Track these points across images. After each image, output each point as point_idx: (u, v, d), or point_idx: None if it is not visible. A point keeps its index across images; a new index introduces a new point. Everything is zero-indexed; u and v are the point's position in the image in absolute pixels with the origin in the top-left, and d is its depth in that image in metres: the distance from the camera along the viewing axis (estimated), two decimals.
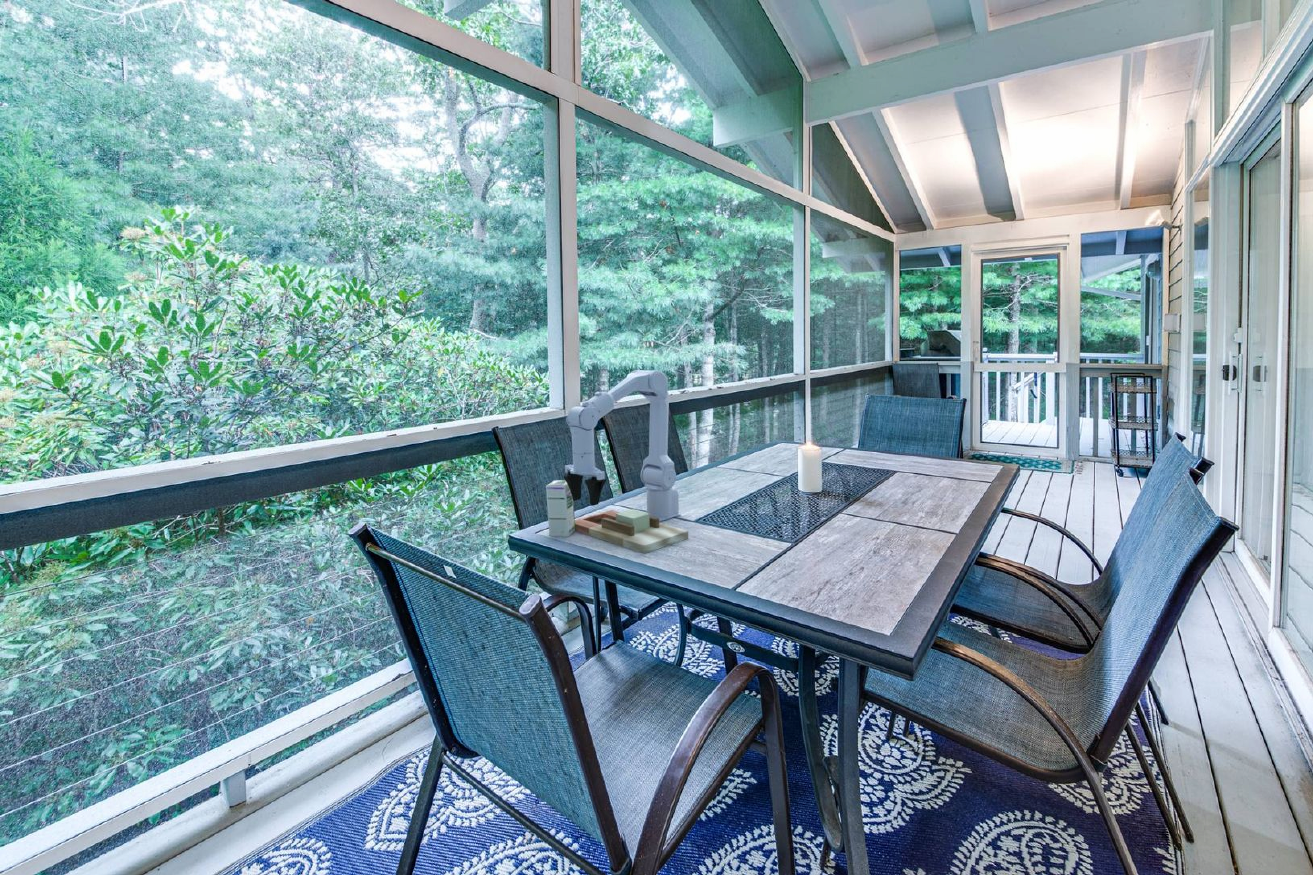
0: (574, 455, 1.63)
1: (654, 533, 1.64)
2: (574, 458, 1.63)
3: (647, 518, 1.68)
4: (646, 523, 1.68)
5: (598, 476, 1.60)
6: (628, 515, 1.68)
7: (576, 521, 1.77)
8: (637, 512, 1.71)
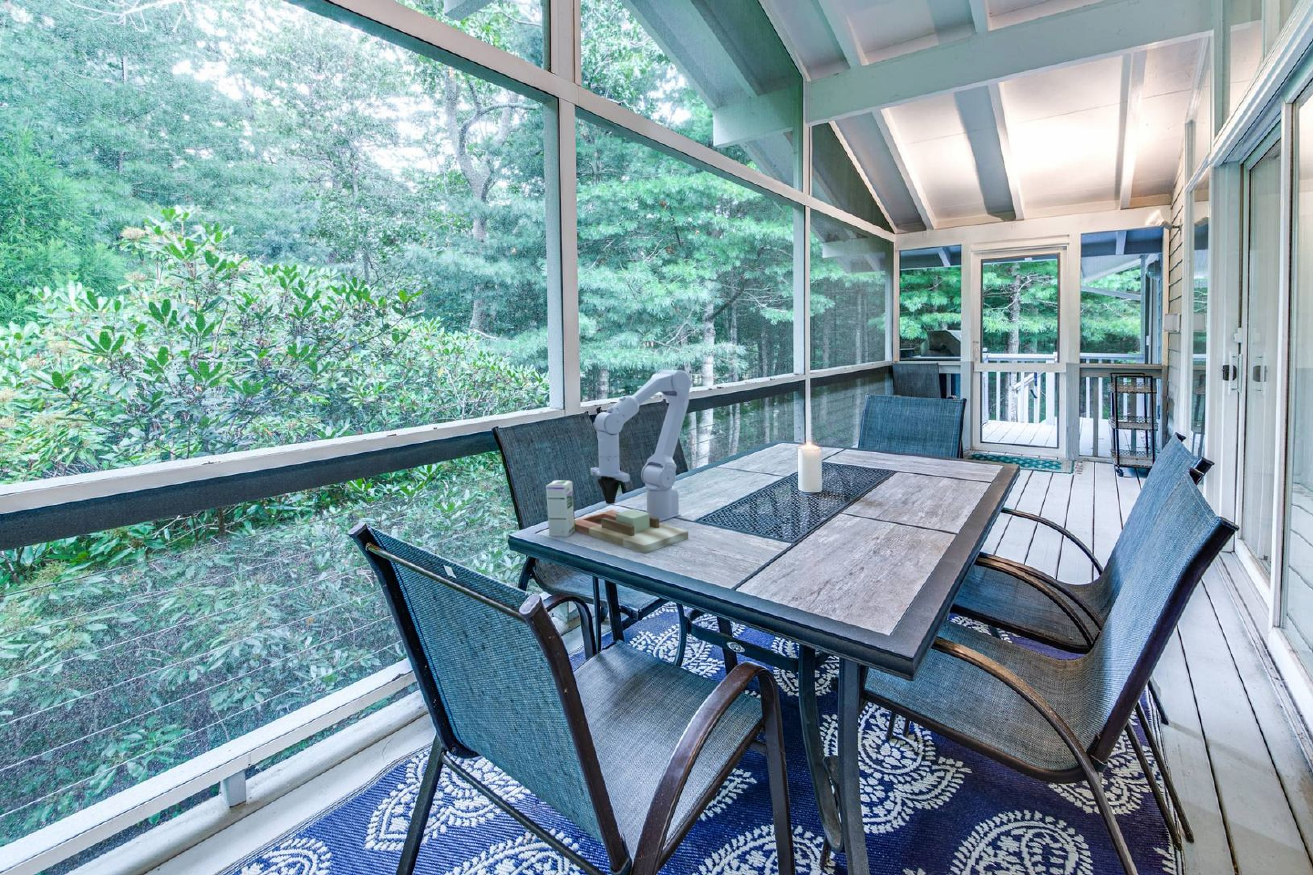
0: (600, 458, 1.71)
1: (654, 533, 1.64)
2: (601, 461, 1.71)
3: (647, 518, 1.68)
4: (646, 523, 1.68)
5: (623, 478, 1.68)
6: (628, 515, 1.68)
7: (576, 521, 1.77)
8: (637, 512, 1.71)
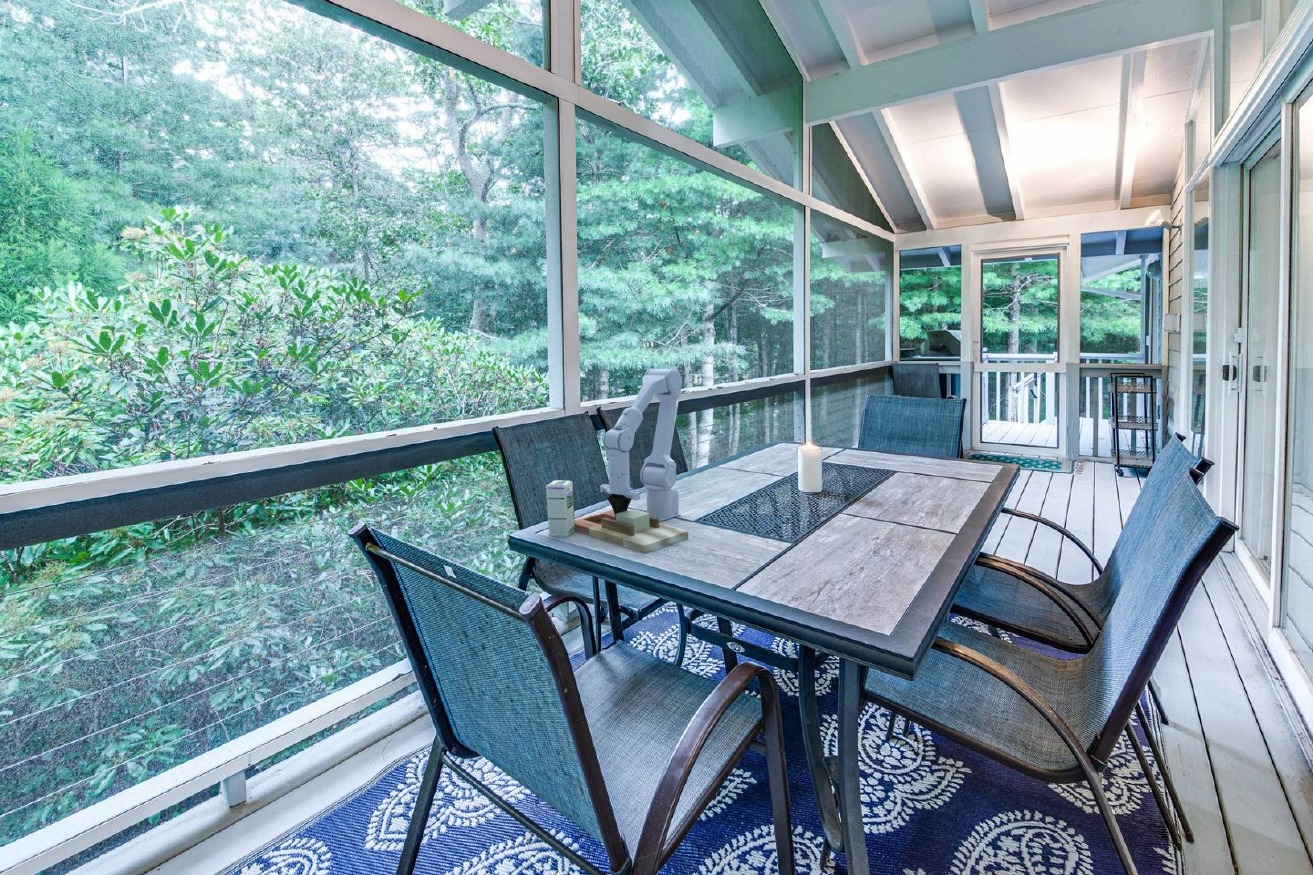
0: (610, 476, 1.69)
1: (654, 533, 1.64)
2: (611, 479, 1.69)
3: (647, 518, 1.68)
4: (646, 523, 1.68)
5: (634, 496, 1.66)
6: (628, 515, 1.68)
7: (576, 521, 1.77)
8: (637, 512, 1.71)
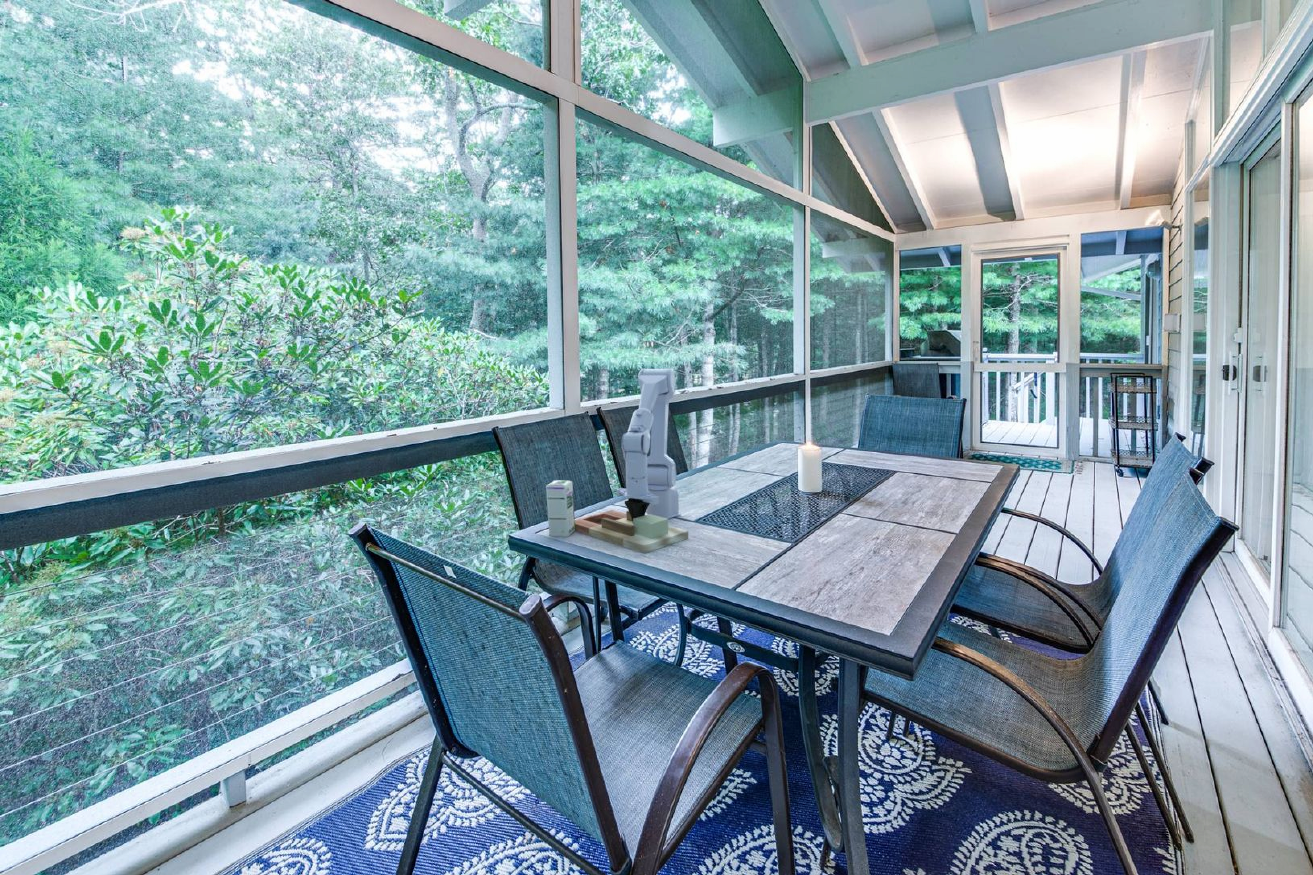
0: (628, 480, 1.64)
1: None
2: (628, 483, 1.64)
3: (666, 523, 1.63)
4: (665, 528, 1.63)
5: (652, 501, 1.61)
6: (646, 520, 1.62)
7: (576, 521, 1.77)
8: (655, 516, 1.66)
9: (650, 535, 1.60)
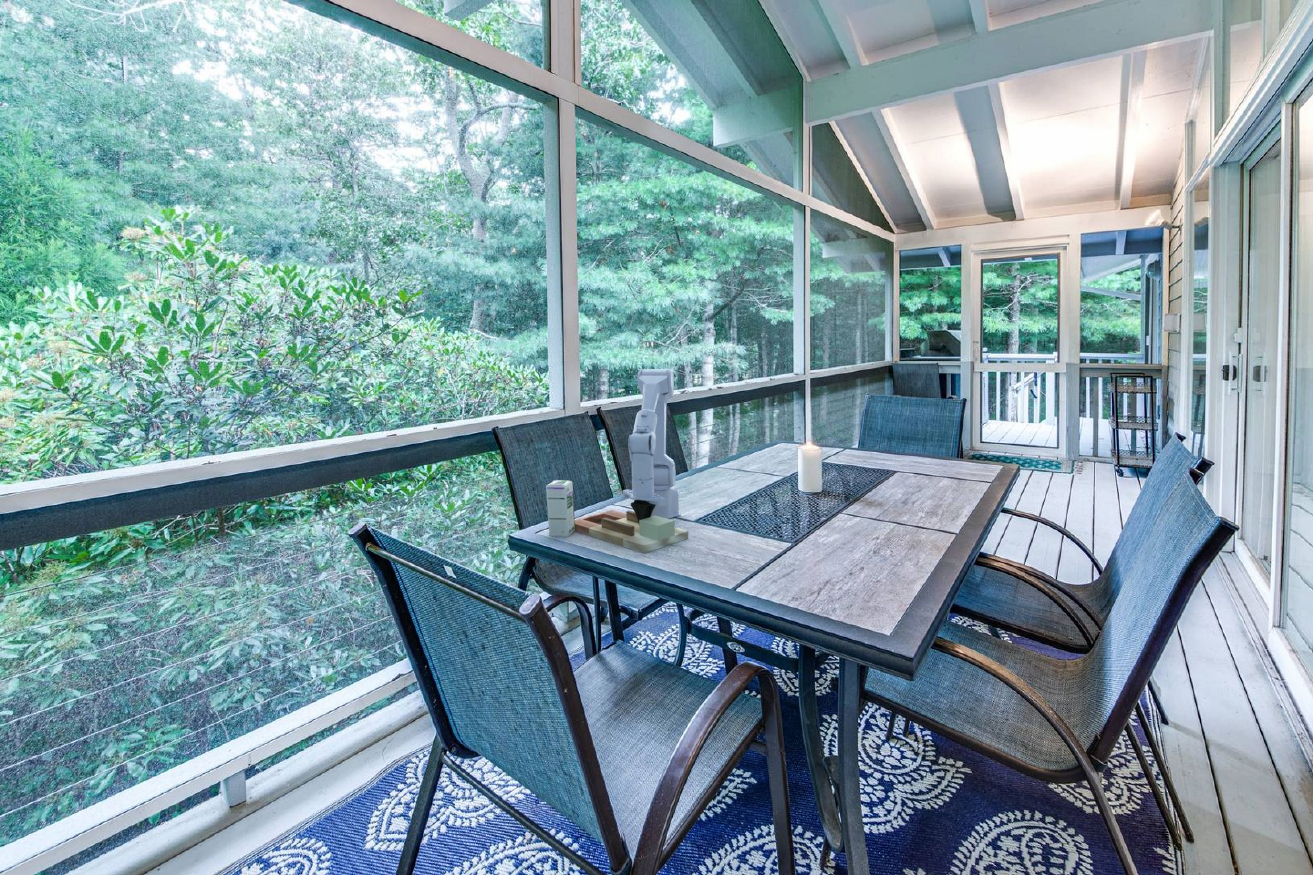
0: (634, 481, 1.63)
1: None
2: (634, 484, 1.63)
3: (672, 525, 1.62)
4: (671, 530, 1.62)
5: (659, 502, 1.60)
6: (652, 522, 1.61)
7: (576, 521, 1.77)
8: (661, 518, 1.64)
9: (656, 537, 1.59)
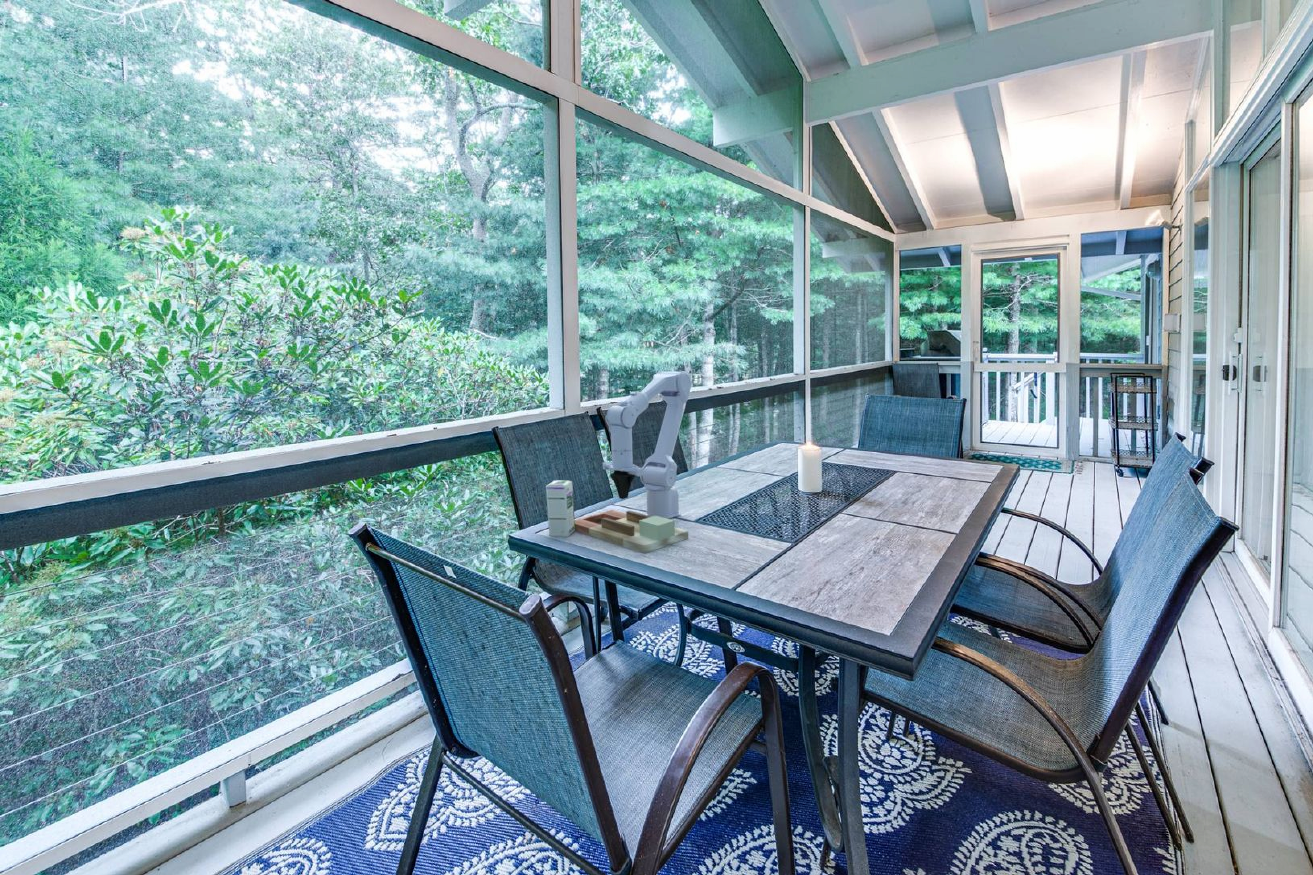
0: (613, 452, 1.69)
1: None
2: (614, 456, 1.69)
3: (672, 525, 1.62)
4: (671, 530, 1.62)
5: (637, 472, 1.66)
6: (652, 522, 1.61)
7: (576, 521, 1.77)
8: (661, 518, 1.64)
9: (656, 537, 1.59)
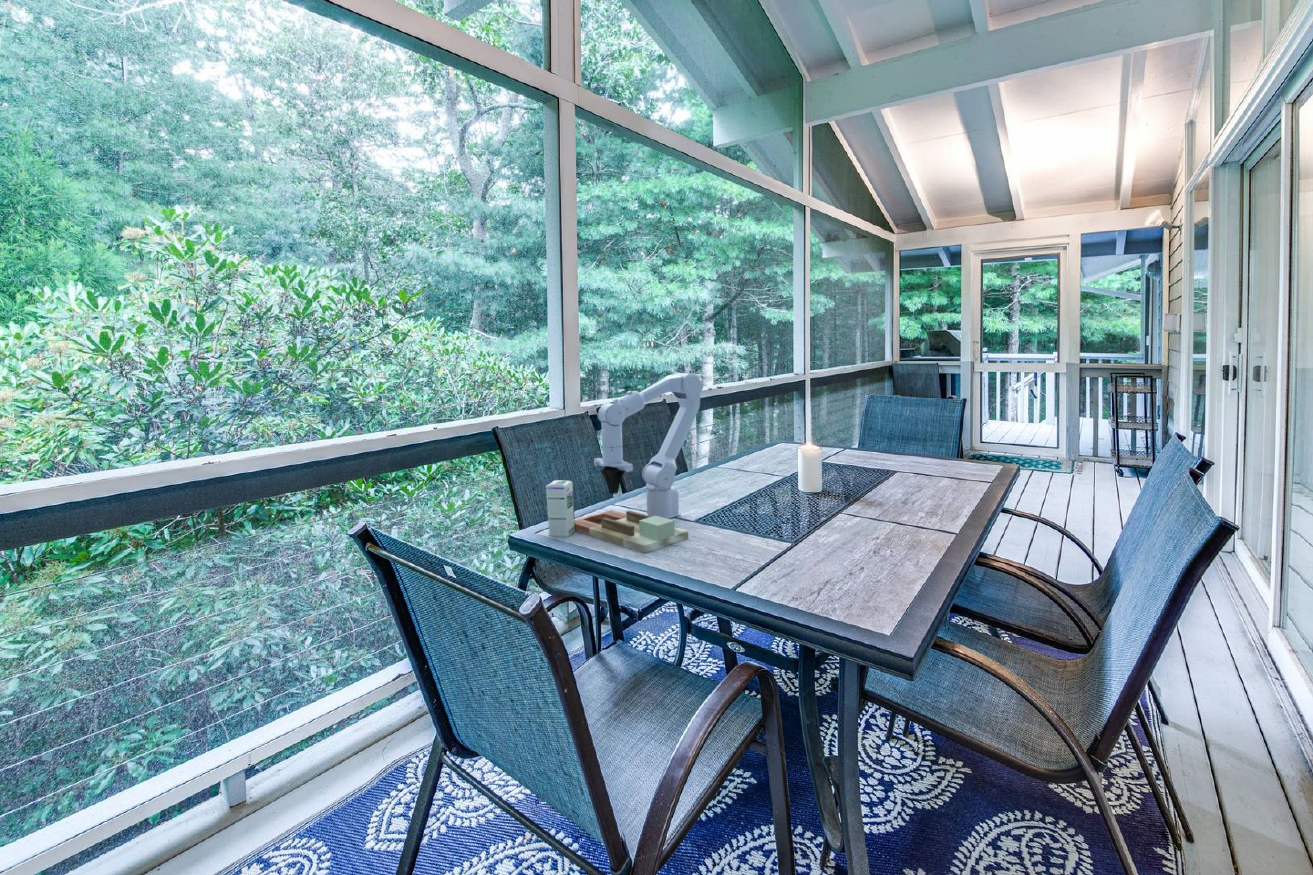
0: (604, 449, 1.75)
1: None
2: (604, 452, 1.75)
3: (672, 525, 1.62)
4: (671, 530, 1.62)
5: (626, 468, 1.72)
6: (652, 522, 1.61)
7: (576, 521, 1.77)
8: (661, 518, 1.64)
9: (656, 537, 1.59)
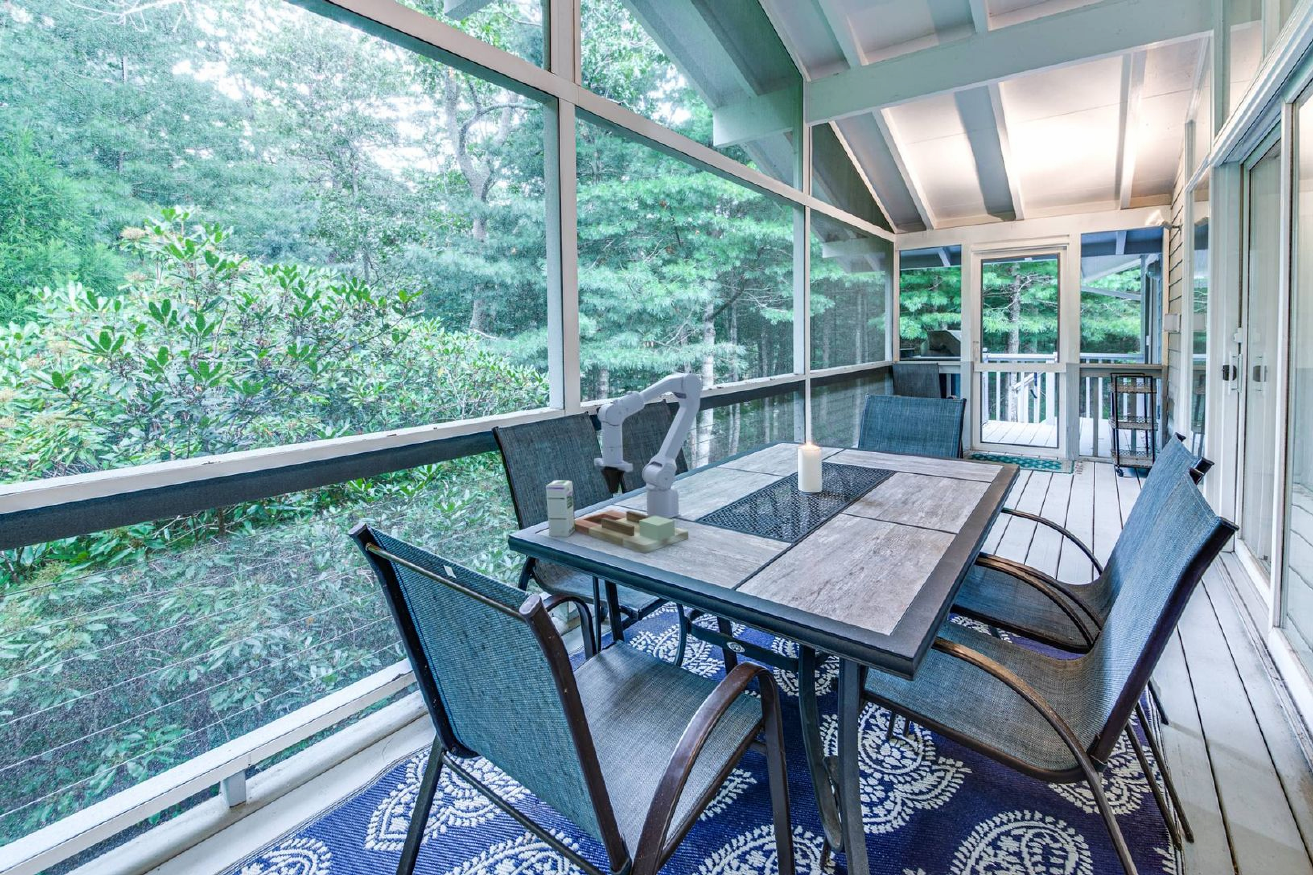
0: (604, 449, 1.75)
1: None
2: (604, 452, 1.75)
3: (672, 525, 1.62)
4: (671, 530, 1.62)
5: (626, 468, 1.72)
6: (652, 522, 1.61)
7: (576, 521, 1.77)
8: (661, 518, 1.64)
9: (656, 537, 1.59)
